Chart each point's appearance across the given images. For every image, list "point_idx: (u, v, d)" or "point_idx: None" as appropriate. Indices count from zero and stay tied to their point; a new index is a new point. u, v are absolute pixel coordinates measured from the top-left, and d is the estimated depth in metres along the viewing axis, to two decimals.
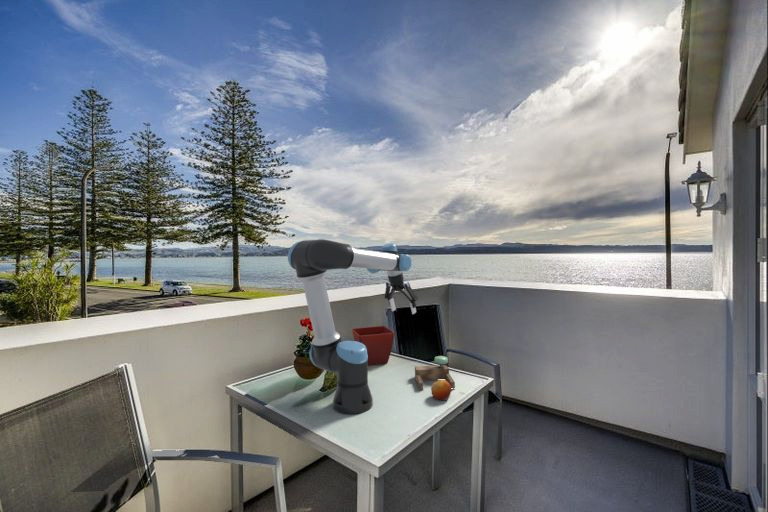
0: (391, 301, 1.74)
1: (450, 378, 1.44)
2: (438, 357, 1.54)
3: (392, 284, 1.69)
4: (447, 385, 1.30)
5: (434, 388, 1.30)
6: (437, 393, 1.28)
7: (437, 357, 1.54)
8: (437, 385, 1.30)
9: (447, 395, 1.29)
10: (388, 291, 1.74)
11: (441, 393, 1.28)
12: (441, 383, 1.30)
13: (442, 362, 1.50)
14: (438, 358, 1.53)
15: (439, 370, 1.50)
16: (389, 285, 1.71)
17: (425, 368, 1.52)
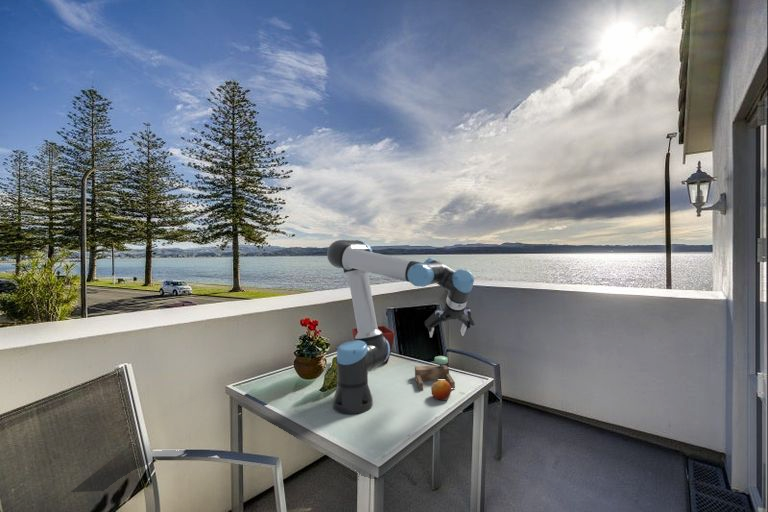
0: (463, 324, 1.37)
1: (450, 378, 1.44)
2: (438, 357, 1.54)
3: None
4: (447, 385, 1.30)
5: (434, 388, 1.30)
6: (437, 393, 1.28)
7: (437, 357, 1.54)
8: (437, 385, 1.30)
9: (447, 395, 1.29)
10: None
11: (441, 392, 1.28)
12: (441, 383, 1.30)
13: (442, 362, 1.50)
14: (438, 358, 1.53)
15: (439, 370, 1.50)
16: None
17: (425, 368, 1.52)
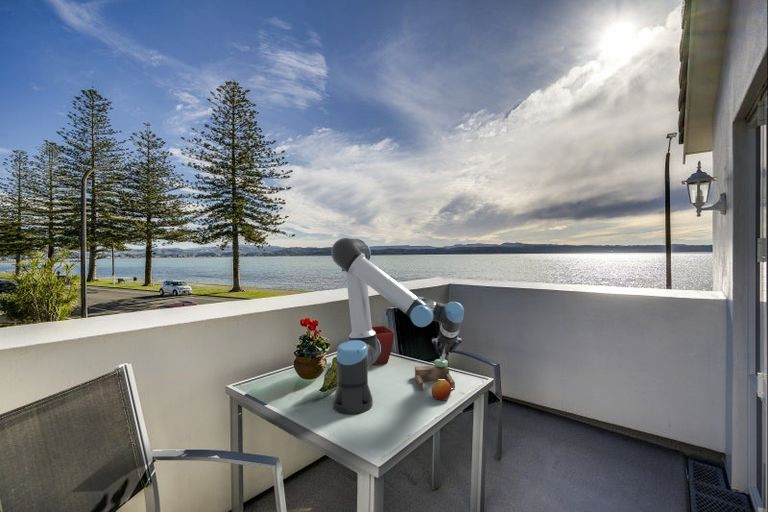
0: (443, 351, 1.49)
1: (450, 378, 1.44)
2: (438, 360, 1.54)
3: None
4: (447, 385, 1.30)
5: (434, 388, 1.30)
6: (437, 393, 1.28)
7: (437, 360, 1.54)
8: (437, 385, 1.30)
9: (447, 395, 1.29)
10: (452, 344, 1.45)
11: (441, 393, 1.28)
12: (441, 383, 1.30)
13: (442, 365, 1.50)
14: (438, 361, 1.53)
15: (439, 370, 1.50)
16: (456, 339, 1.42)
17: (425, 368, 1.52)
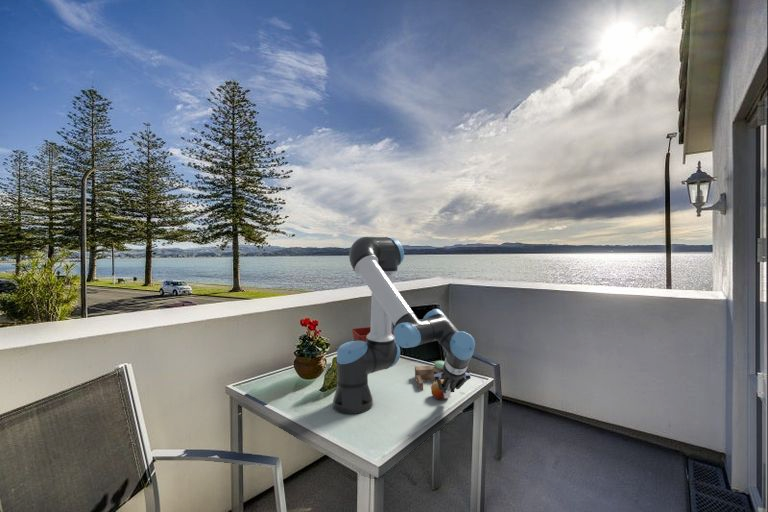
0: (447, 386, 1.24)
1: None
2: (438, 362, 1.54)
3: None
4: None
5: (434, 388, 1.30)
6: (437, 392, 1.29)
7: (437, 362, 1.54)
8: (437, 385, 1.30)
9: None
10: (459, 380, 1.19)
11: (441, 392, 1.28)
12: None
13: (442, 367, 1.50)
14: (438, 363, 1.53)
15: (439, 370, 1.50)
16: None
17: (425, 368, 1.52)
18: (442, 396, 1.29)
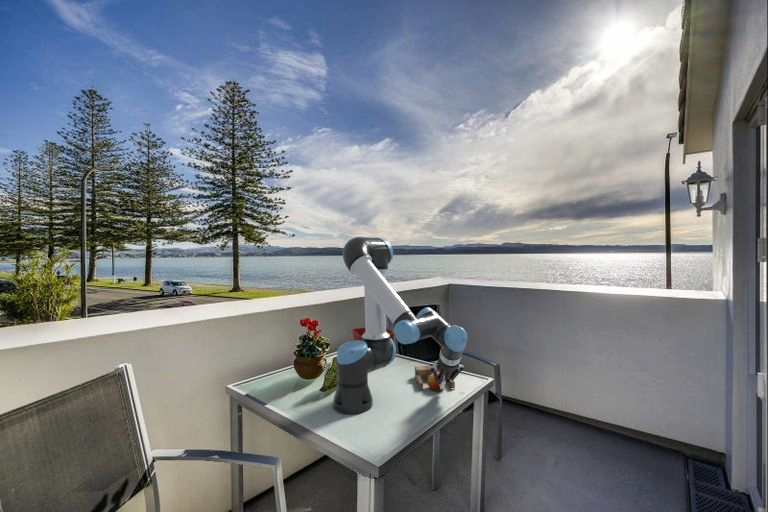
0: (443, 378, 1.33)
1: None
2: None
3: None
4: None
5: (430, 379, 1.39)
6: (434, 384, 1.37)
7: None
8: (433, 377, 1.39)
9: None
10: (454, 371, 1.28)
11: (437, 383, 1.37)
12: None
13: None
14: None
15: (439, 370, 1.50)
16: None
17: (425, 368, 1.52)
18: (438, 387, 1.37)
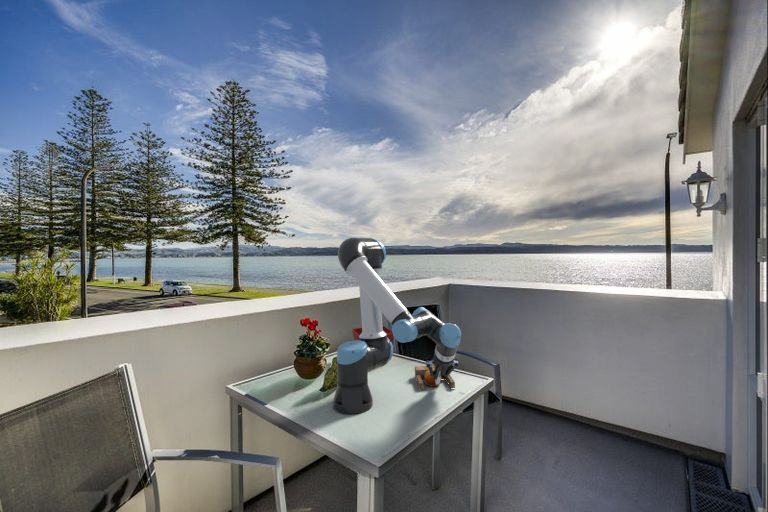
0: None
1: (450, 378, 1.44)
2: None
3: None
4: None
5: (426, 375, 1.44)
6: (429, 379, 1.42)
7: None
8: (429, 372, 1.44)
9: None
10: (449, 367, 1.33)
11: (433, 379, 1.42)
12: None
13: None
14: None
15: None
16: None
17: (425, 368, 1.52)
18: (434, 383, 1.42)
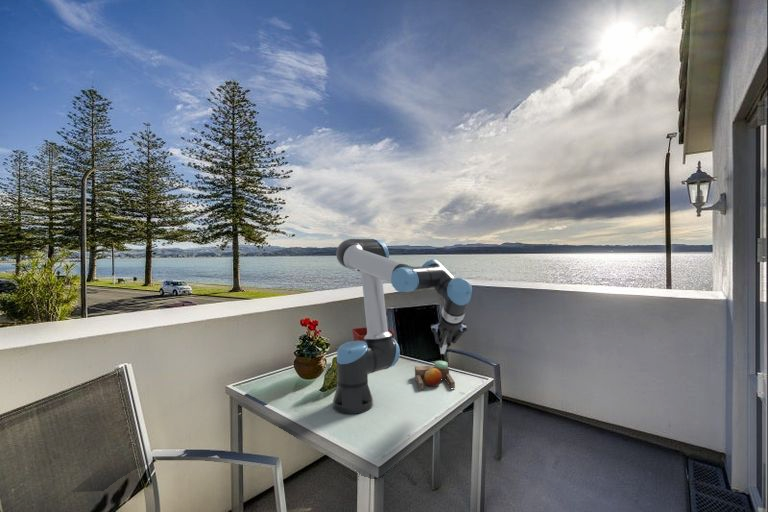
0: (444, 341, 1.25)
1: (450, 378, 1.44)
2: (438, 362, 1.54)
3: None
4: (438, 373, 1.43)
5: (426, 375, 1.44)
6: (429, 379, 1.42)
7: (437, 362, 1.54)
8: (429, 373, 1.44)
9: (438, 381, 1.43)
10: (456, 333, 1.20)
11: (432, 379, 1.42)
12: (433, 371, 1.44)
13: (442, 367, 1.50)
14: (438, 363, 1.53)
15: (439, 370, 1.50)
16: (460, 326, 1.17)
17: (425, 368, 1.52)
18: (434, 383, 1.42)
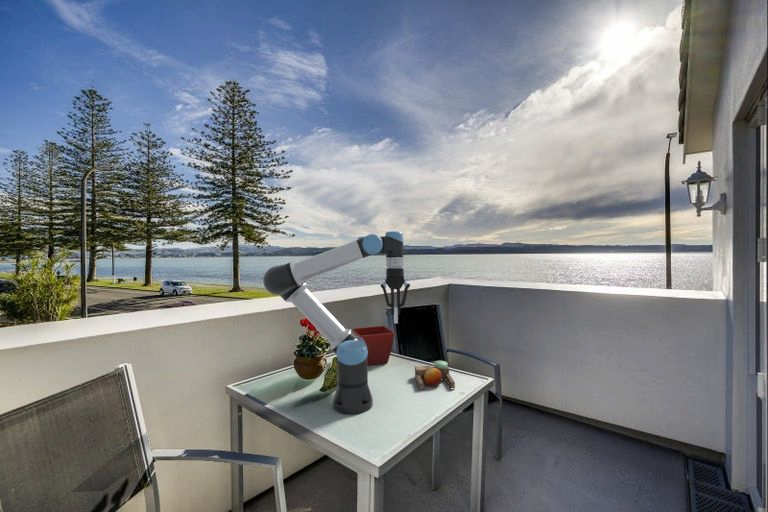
0: None
1: (450, 378, 1.44)
2: (438, 362, 1.54)
3: None
4: (438, 373, 1.43)
5: (426, 375, 1.44)
6: (429, 379, 1.42)
7: (437, 362, 1.54)
8: (429, 373, 1.44)
9: (438, 381, 1.43)
10: (403, 295, 1.42)
11: (432, 379, 1.42)
12: (433, 371, 1.44)
13: (442, 367, 1.50)
14: (438, 363, 1.53)
15: (439, 370, 1.50)
16: None
17: (425, 368, 1.52)
18: (434, 383, 1.42)
